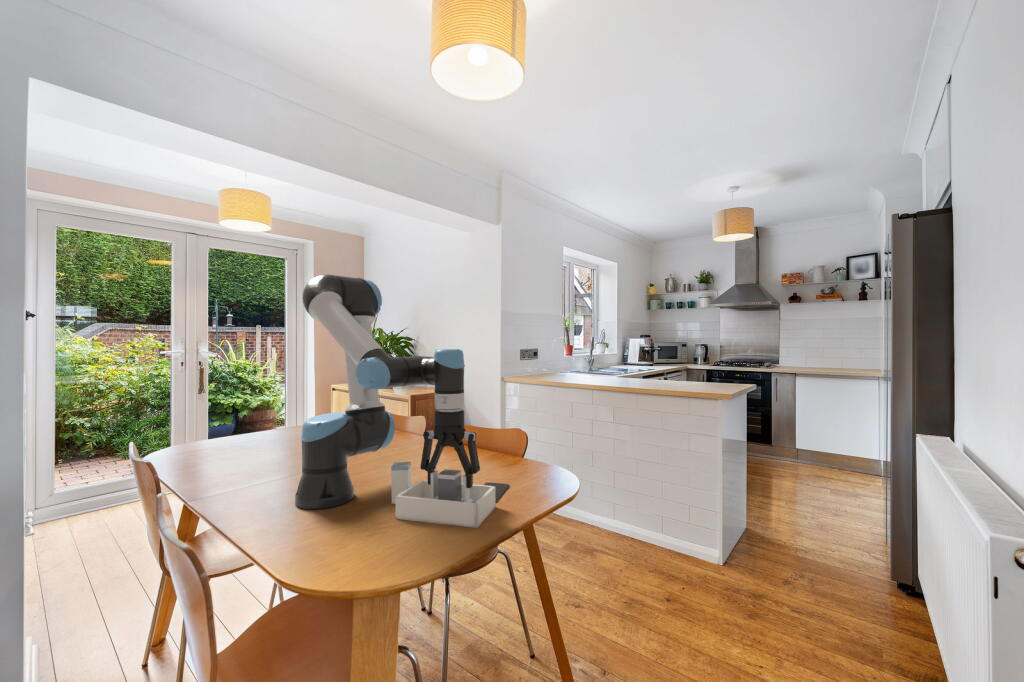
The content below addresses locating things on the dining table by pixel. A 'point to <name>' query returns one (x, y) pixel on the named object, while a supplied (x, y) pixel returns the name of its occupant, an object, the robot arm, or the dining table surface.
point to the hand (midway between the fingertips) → (450, 498)
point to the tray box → (445, 506)
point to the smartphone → (498, 489)
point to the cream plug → (400, 478)
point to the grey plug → (450, 485)
